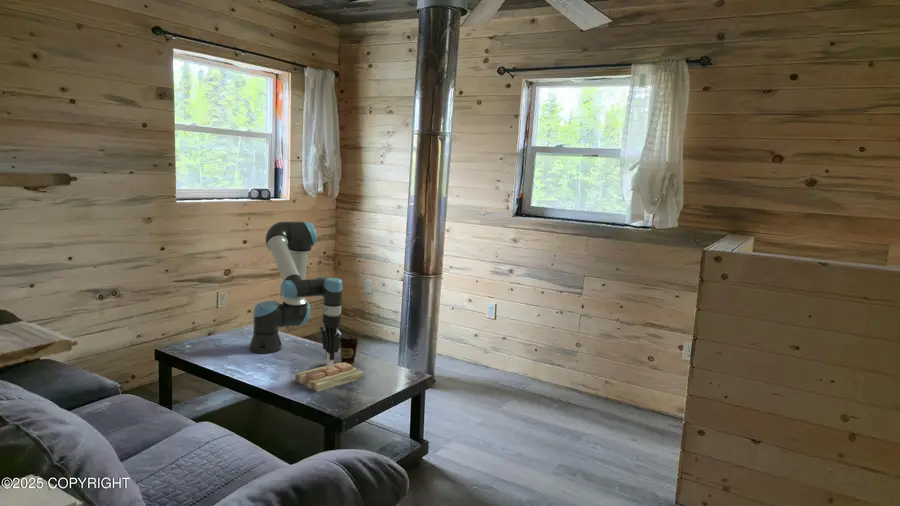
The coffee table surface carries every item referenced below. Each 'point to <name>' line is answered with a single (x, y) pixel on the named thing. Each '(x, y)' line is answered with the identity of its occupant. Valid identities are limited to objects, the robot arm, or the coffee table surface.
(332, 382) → the board
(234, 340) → the coffee table surface
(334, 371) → the tile two pips
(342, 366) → the tile three pips
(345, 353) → the coffee cup
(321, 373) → the tile one pip
